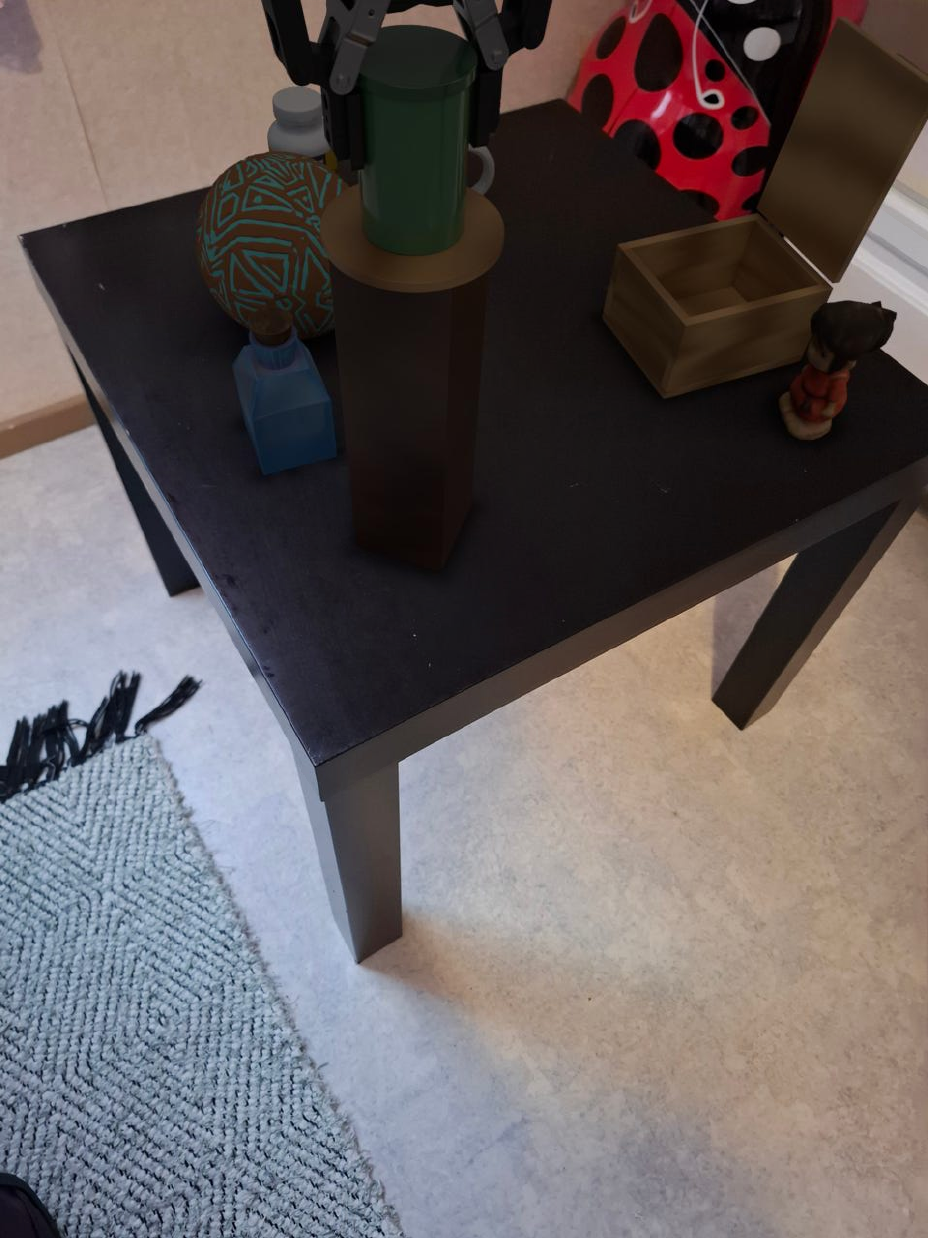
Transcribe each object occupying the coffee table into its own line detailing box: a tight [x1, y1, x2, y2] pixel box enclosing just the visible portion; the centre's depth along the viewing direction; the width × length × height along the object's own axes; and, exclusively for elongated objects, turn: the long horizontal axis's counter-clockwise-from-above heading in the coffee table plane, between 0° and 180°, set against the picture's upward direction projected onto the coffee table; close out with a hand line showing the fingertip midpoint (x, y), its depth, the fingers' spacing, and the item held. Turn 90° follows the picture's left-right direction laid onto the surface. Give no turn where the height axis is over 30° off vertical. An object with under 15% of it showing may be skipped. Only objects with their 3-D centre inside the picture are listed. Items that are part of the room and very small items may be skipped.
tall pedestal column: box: [320, 183, 505, 574], centre depth 58 cm, size 10×10×26 cm
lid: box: [756, 16, 928, 285], centre depth 72 cm, size 16×12×5 cm
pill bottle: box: [266, 86, 339, 175], centre depth 86 cm, size 6×6×12 cm
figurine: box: [778, 299, 898, 441], centre depth 73 cm, size 6×6×12 cm
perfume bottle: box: [231, 307, 338, 476], centre depth 68 cm, size 6×6×12 cm
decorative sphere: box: [195, 151, 351, 341], centre depth 75 cm, size 15×15×15 cm
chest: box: [601, 212, 834, 400], centre depth 80 cm, size 15×12×8 cm
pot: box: [355, 24, 478, 256], centre depth 44 cm, size 6×6×8 cm
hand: (412, 149), depth 44 cm, fingers closed on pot, 6 cm apart
